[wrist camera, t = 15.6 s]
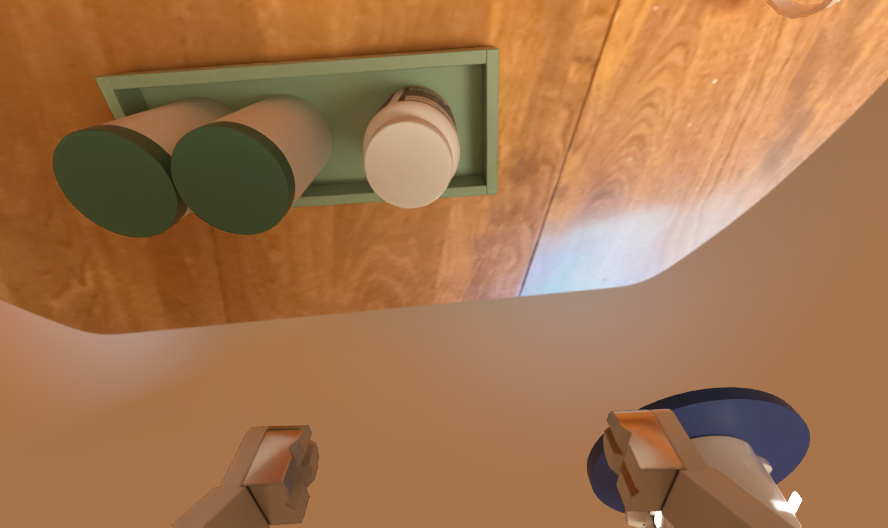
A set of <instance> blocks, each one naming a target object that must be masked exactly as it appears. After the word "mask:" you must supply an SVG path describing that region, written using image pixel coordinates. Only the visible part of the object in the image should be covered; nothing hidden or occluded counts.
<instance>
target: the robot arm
mask: <svg viewBox="0 0 888 528" xmlns="http://www.w3.org/2000/svg"><path fill="white" fill-rule="evenodd" d="M607 422H608V424H609V426H610V427H609V428H607V429H606V430H605V431H604V436H603V447H604V452H605V456H606V460H607V462H608V465H609V468H610V469H612V470H613V471H614V472H615V473H616V474H617V475H618V480H617V483H616V486H617V488H618V491H619V494H620V496H621V499H622V501H623V504H624V506H625V519H626V521H627V523H628V524H629V525H631V526H634V527H638V528H802V527H801V525H800V523H799V521H798V520H797V518H796V516H795V515H794V514H795V512H796V510H797V508H798V506H799V504H800V503H801V500H802V499H801V498H800V496H799V495H798V494H797V492H793V494H792V496H791V498H790V500H789V502H788V503H787V502H786V500H785V498H784V497H783V495H782V494H781V492H780V490H779V489H778V488H777V486H776V484H775V482H774V481H773V479H772V478H771V476H770V474H769V473H770V472H771V471H772V467H771V465H770V464H769V462H768V460H766V459H765V458H763V457H760V456H758V455H756V454H755V452H754V451H753V449H752V447H751V446H750V445H749V444H748V443H747V442H745V441H743V440H741V439H738V438H735V437H730V436H703V437H697V438H692V439H690V438H689V436H688V435H687V433H686V431H685V430H684V428H683V427H682V425H681V423H680V422H679V420H678V419H677V417H676V415H675V414H674V412H672V411H671V410H670V409H655V410H648V409H643V410H628V411H612V412H610V413H609V414H608V418H607ZM311 434H312V432H311V430H310V427H309V425H303V426H302V425H301V426H261V427H251V429H250V430H249V431H248V432H247V433H246V435H245V437H244V439H243V441H242V443H241V445H240V447H239V449H238V451H237V453H236V455H235V457H234V459H233V461H232V463H231V465H230V467H229V469H228V471H227V473H226V475H225V477H224V479H223V481H222V483H221V485H220V487H217V488H213V489H212V490H211V491H210V492H208V493H207V494H206V495H205V496H204V497H203V498H202V499H200V500H199V501H198V502H197V503H196V504H195V505H194V506H193V507H191V508H190V509H189V510H188V511H187V512H186V513H185V514H184V515H182V516H181V517H180V518H179V519H178V520H177V521H176V522H175V523H173V524H172V525H171V526H170V527H169V528H269V527H270V526H269V525H280V524H296V523H302V521H303V518H304V514H305V511H306V507H307V504H308V500H309V497H310V496H309V493H308V490H307V487H308V486H309V485H310V483H312V481H314V479H315V476H316V473H317V469H318V460H319V453H318V447H317V445H316V443H315V442H314V441H312V440H311V439H310V437H311Z"/></svg>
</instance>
